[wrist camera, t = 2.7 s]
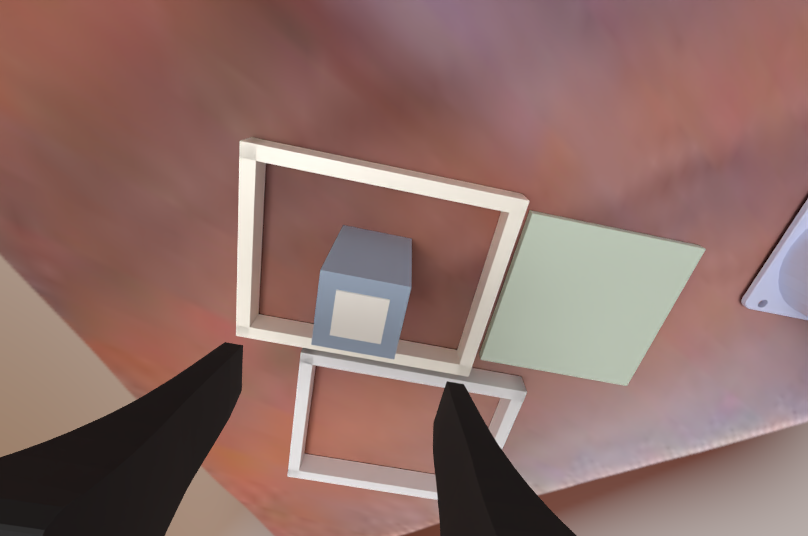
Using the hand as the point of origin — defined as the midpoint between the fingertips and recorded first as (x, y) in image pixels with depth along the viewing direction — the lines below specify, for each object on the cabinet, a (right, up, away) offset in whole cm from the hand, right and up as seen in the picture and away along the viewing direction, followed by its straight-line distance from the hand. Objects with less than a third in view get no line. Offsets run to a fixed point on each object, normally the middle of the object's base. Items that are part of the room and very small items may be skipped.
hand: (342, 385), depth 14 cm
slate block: (0, +4, +9) cm, 10 cm away
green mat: (+13, +2, +10) cm, 17 cm away
